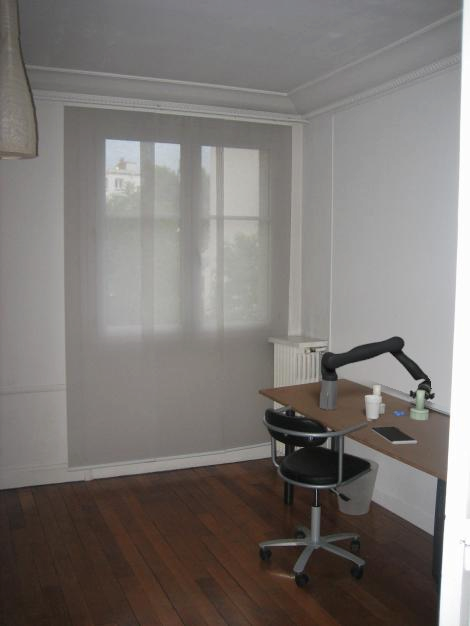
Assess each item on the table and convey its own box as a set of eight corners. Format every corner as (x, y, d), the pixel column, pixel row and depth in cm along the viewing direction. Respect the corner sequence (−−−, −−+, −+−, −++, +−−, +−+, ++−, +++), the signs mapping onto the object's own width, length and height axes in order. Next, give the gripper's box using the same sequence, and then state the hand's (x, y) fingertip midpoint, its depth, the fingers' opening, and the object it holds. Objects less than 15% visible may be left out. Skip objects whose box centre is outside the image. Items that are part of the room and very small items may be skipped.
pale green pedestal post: (420, 423, 357) (422, 393, 355) (406, 419, 365) (407, 389, 363) (432, 421, 363) (433, 391, 361) (417, 416, 371) (419, 387, 369)
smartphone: (393, 429, 348) (393, 425, 348) (417, 444, 322) (418, 440, 322) (370, 429, 345) (370, 426, 345) (392, 445, 319) (393, 441, 319)
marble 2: (398, 418, 366) (398, 413, 366) (394, 417, 369) (394, 412, 368) (402, 417, 368) (402, 412, 368) (397, 416, 370) (398, 411, 370)
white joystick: (376, 417, 368) (378, 387, 366) (363, 413, 376) (364, 384, 374) (388, 414, 374) (389, 385, 372) (374, 410, 382) (376, 382, 380)
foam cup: (368, 416, 369) (370, 394, 368) (383, 419, 363) (384, 396, 362) (360, 419, 362) (361, 396, 360) (375, 423, 356) (377, 399, 354)
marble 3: (402, 417, 368) (402, 412, 368) (398, 416, 371) (398, 411, 370) (405, 417, 370) (406, 411, 370) (401, 415, 373) (401, 410, 372)
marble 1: (396, 417, 370) (396, 411, 369) (392, 415, 372) (392, 410, 372) (399, 416, 372) (400, 411, 371) (395, 415, 374) (395, 409, 374)
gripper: (411, 383, 378) (407, 389, 362) (437, 386, 372) (433, 392, 357) (410, 396, 379) (406, 402, 363) (436, 399, 373) (433, 405, 358)
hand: (420, 397), depth 360 cm, fingers open, 6 cm apart
